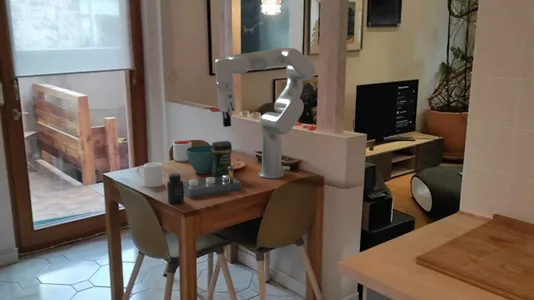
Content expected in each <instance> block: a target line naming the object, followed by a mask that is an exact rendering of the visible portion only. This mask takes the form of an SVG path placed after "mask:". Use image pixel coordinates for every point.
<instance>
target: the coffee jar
mask: <svg viewBox="0 0 534 300" xmlns="http://www.w3.org/2000/svg"><path fill="white" fill-rule="evenodd" d="M232 150H233V147H232V142H230V141H228V140H222V141H214V142H212V153H213V168H212V173H211V177H219V176H223V175H229V170H228V167H230V166H232V160H231V154H232V152H233V151H232Z"/></svg>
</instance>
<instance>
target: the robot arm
mask: <svg viewBox="0 0 534 300" xmlns="http://www.w3.org/2000/svg"><path fill="white" fill-rule="evenodd" d="M278 67H286V68H285V74H286V77H287V78H286V79H287V80H286V82H287V83H286V85H285V87H284V89H283V90H282V92H281V93H280V94H279V96H278V98H277V99H276V100H275V102H274V106H273V109H274V110H275V112H272V111H267V112H265V113H263V114H262V115H261V117H260V119H259V128H260V132H261V170H260V171H259V172H258V176H259V177H260V178H263V179H279V178H282V177H284V176H285V171H290V169H291V167H290V166H289V165H288V166H285V165H282V137H281V135H286V134H289V132H290V131H291V130H292V129H293V127H294V126H295V125H296V123H297V122H298V121H299V119H300V117H301V116H302V114H303V112H304V107H305V106H304V105H305V104H304V102H303V101H304V100H302V99H301V98H300V97H301V95H302V92H303V91H304V90H303V80H304V81H309V80H312V79H313V78H314V77H315V74H316V67H315V65H314V63H312V62H311V61H310V60H309V59H308V57H306V56H305V55H304V54H303V53H302V52H300V51H299V50H298V49H296V48H293V47H291V48H290V47H280V48H273V49H267V50H261V51H253V52H247V53H246V52H245V53H237V54H233V55H229V56H226V57H225V58H224V57H223V58H221V57H220V58H217V59H215V61H214V70H215V71H214V72H215V85H216V86H215V87H216V91H217V109H218V110H219V111H220V113H221V115H222V116H221V117H222V124H223V127H224V128H227V127H231V126H232V115H233V112H235V111H237V109H236V106H237V105H236V99H235V91H234V78H233V77H234V76H233V74H235V75H236V74H237V75H242V74H246V73H247V72H248V71H249V70H258V71H259V70H260V71H261V70H268V69H273V68H278Z"/></svg>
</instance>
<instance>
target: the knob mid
mask: <svg viewBox="0 0 534 300" xmlns="http://www.w3.org/2000/svg"><path fill="white" fill-rule="evenodd" d="M206 183H207V184H212V183H215V178H213V177H212V176H211V177H206Z"/></svg>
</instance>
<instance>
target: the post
mask: <svg viewBox="0 0 534 300" xmlns="http://www.w3.org/2000/svg"><path fill="white" fill-rule="evenodd" d="M234 169H235V167H234V166H232V165H231V166H230V167H228V170H229V183H233V178H234Z"/></svg>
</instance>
